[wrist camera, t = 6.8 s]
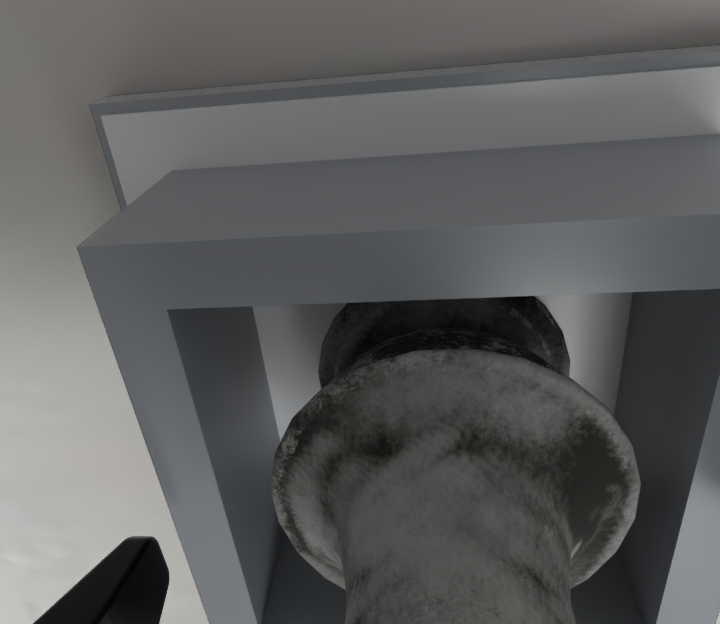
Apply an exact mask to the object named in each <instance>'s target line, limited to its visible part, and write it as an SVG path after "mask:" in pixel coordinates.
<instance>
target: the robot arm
mask: <svg viewBox="0 0 720 624" xmlns="http://www.w3.org/2000/svg"><path fill="white" fill-rule="evenodd" d="M168 585H169V570H168V567H167V564H166V562H165V559H164V556H163V554H162V551H161V549H160V546H159V543H158V541H157V540H156V539H155V538H154V537H151V536H132V537H129V538H127V539H125V540H124V541H123V542H122V543H121V544H119V545H118V546H117V547H116V548H115V549H114V550H113V551H112V552H111V553H110V554H109V555H107V556H106V557H105V558H104V559H103V560H102V561H101V562H100V563H99V564H98V565H97V566H95V567H94V568H93V569H92V570H91V571H90V572H89V573H88V574H87V575H86V576H85V577H83V578H82V579H81V580H80V581H79V582H78V583H77V584H76V585H75V586H74V587H72V588H71V589H70V590H69V591H68V592H67V593H66V594H65V595H64V596H63V597H62V598H60V599H59V600H58V601H57V602H56V603H55V604H54V605H53V606H52V607H51V608H50V609H48V610H47V611H46V612H45V613H44V614H43V615H42V616H41V617H40V618H39V619H38V620H36V621H35V622H34V623H33V624H159V622H160V618H161V614H162V610H163V606H164V602H165V598H166V594H167V590H168Z"/></svg>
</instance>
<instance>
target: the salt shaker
mask: <svg viewBox="0 0 720 624" xmlns="http://www.w3.org/2000/svg"><path fill="white" fill-rule="evenodd" d="M318 373H319V379H320V385H321V390H320V391H319V392H318V393H317V394H316V395H315V396H314V397H313V398H312V399H311V400H310V401H309V402H308V403H307V404H306V405H305V406H304V407H303V408H302V409H301V410H300V411H299V412H298V413H297V414H296V415H295V416H294V417H293V418H292V419H291V421H290V423H289V425H288V427H287V429H286V431H285V433H284V435H283V437H282V439H281V441H280V443H279V445H278V447H277V449H276V452H275V455H274V463H273V473H272V482H271V493H272V497H273V501H274V505H275V509H276V513H277V517H278V521H279V523H280V525H281V527H282V528H283V530H284V531H285V533H286V535H287V536H288V538H289V539H290V541H291V543H292V544H293V546H294V547H295V549H296V551H297V552H298V553H299V554H300V555H301V556H302V557H303V558H304V559H305V560H306V561H307V562H308V563H309V564H310V565H312V566H313V567H314V568H315V569H316V570H317V571H318V572H319V573H320V574H321V575H322V576H323V577H324V578H326V579H327V580H329V581H331V582H333V583H334V584H336V585H338V586H339V587H341V588H343V589H345V590H346V599H347V606H346V615H345V624H576V621H575V617H574V613H573V609H572V605H571V592H570V589H572V588H573V587H575V586H577V585H579V584H580V583H582V582H584V581H585V580H587V579H589V578H590V577H591V576H592V575H593V574H594V573H595V572H596V571H597V570H598V569H599V568H600V567H601V566H602V565H603V564H604V563H605V562H606V561H607V560H608V559H609V558H611V557H612V556H613V555H614V554H615V553H616V551H617V550H618V548H619V546H620V545H621V543H622V541H623V539H624V537H625V536H626V534H627V532H628V530H629V529H630V527H631V525H632V523H633V521H634V520H635V517H636V510H637V504H638V498H639V492H640V486H641V481H640V477H639V472H638V468H637V463H636V459H635V454H634V450H633V446H632V444H631V442H630V440H629V439H628V437H627V436H626V434H625V433H624V431H623V430H622V428H621V427H620V425H619V424H618V422H617V420H616V419H615V417H614V416H613V414H612V413H611V411H610V410H609V408H608V407H607V406H605V405H604V404H603V403H602V402H600V401H599V400H598V399H597V398H595V397H594V396H593V395H592V394H590V393H589V392H588V391H587V390H585V389H584V388H583V387H582V386H580V385H579V384H578V383H577V382H575V381H574V380H573V379H572V378H569V373H570V357H569V354H568V350H567V346H566V342H565V338H564V334H563V332H562V330H561V328H560V327H559V325H558V324H557V322H556V321H555V319H554V318H553V316H552V314H551V313H550V311H549V310H548V308H547V307H546V305H544V304H543V303H542V302H541V301H540V300H538V299H537V298H536V297H535V296H515V297H489V298H462V299H436V300H409V301H382V302H356V303H347V304H346V306H345V307H344V308H343V309H342V310H341V311H340V312H339V313H338V314H337V315H336V316H335V318H334V320H333V322H332V324H331V326H330V328H329V330H328V332H327V334H326V336H325V338H324V340H323V343H322V348H321V355H320V362H319V369H318Z"/></svg>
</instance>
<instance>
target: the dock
mask: <svg viewBox="0 0 720 624" xmlns="http://www.w3.org/2000/svg"><path fill="white" fill-rule="evenodd" d="M89 106H90V109H91V112H92V115H93V119H94V122H95V125H96V129H97V132H98V135H99V139H100V142H101V145H102V148H103V152H104V155H105V158H106V162H107V165H108V168H109V172H110V175H111V178H112V181H113V185H114V188H115V191H116V195H117V198H118V201H119V205H120V208H121V212H119V213H118V214H117V215H116V216H114V217H113V218H112V219H111V220H110V221H108V222H107V223H106V224H105V225H103V226H102V227H101V228H100V229H98V230H97V231H96V232H95V233H93V234H92V235H91V236H90V237H88V238H87V239H86V240H85V241H83V242H82V243H81V244H80V245H78V246H77V250H78V253H79V256H80V258H81V261H82V264H83V267H84V270H85V273H86V275H87V278H88V281H89V284H90V287H91V290H92V292H93V295H94V298H95V301H96V304H97V307H98V309H99V312H100V315H101V318H102V321H103V324H104V326H105V329H106V332H107V335H108V338H109V341H110V343H111V346H112V349H113V352H114V355H115V358H116V360H117V363H118V366H119V369H120V372H121V375H122V377H123V380H124V383H125V386H126V389H127V392H128V394H129V397H130V400H131V403H132V406H133V409H134V411H135V414H136V417H137V420H138V423H139V426H140V428H141V431H142V434H143V437H144V440H145V442H146V445H147V448H148V451H149V454H150V457H151V459H152V462H153V465H154V468H155V471H156V474H157V476H158V479H159V482H160V485H161V488H162V491H163V493H164V496H165V499H166V502H167V505H168V508H169V510H170V513H171V516H172V519H173V522H174V525H175V527H176V530H177V533H178V536H179V539H180V542H181V544H182V547H183V550H184V553H185V556H186V559H187V561H188V564H189V567H190V570H191V573H192V576H193V578H194V581H195V584H196V587H197V590H198V593H199V595H200V598H201V601H202V604H203V607H204V610H205V612H206V615H207V618H208V621H209V624H345V615H346V606H347V599H346V590H345V589H343V588H341V587H339V586H338V585H336V584H334V583H333V582H331V581H329V580H327V579H326V578H324V577H323V576H322V575H321V574H320V573H319V572H318V571H317V570H316V569H315V568H314V567H313V566H312V565H310V564H309V563H308V562H307V561H306V560H305V559H304V558H303V557H302V556H301V555H300V554H299V553H298V552H297V551H296V549H295V547H294V546H293V544H292V543H291V541H290V539H289V538H288V536H287V535H286V533H285V531H284V530H283V528H282V527H281V525H280V523H279V521H278V517H277V513H276V509H275V505H274V501H273V497H272V493H271V482H272V473H273V463H274V455H275V452H276V449H277V447H278V445H279V443H280V441H281V439H282V437H283V435H284V433H285V431H286V429H287V427H288V425H289V423H290V421H291V419H292V418H293V417H294V416H295V415H296V414H297V413H298V412H299V411H300V410H301V409H302V408H303V407H304V406H305V405H306V404H307V403H308V402H309V401H310V400H311V399H312V398H313V397H314V396H315V395H316V394H317V393H318V392H319V391H320V390H321V385H320V379H319V373H318V369H319V362H320V355H321V348H322V343H323V340H324V338H325V336H326V334H327V332H328V330H329V328H330V326H331V324H332V322H333V320H334V318H335V316H336V315H337V314H338V313H339V312H340V311H341V310H342V309H343V308H344V307H345V306H346V304H347V303H356V302H382V301H409V300H436V299H462V298H489V297H515V296H535V297H536V298H537V299H538V300H540V301H541V302H542V303H543V304H544V305H546V307H547V308H548V310H549V311H550V313H551V314H552V316H553V318H554V319H555V321H556V322H557V324H558V325H559V327H560V328H561V330H562V332H563V334H564V338H565V342H566V346H567V350H568V354H569V357H570V373H569V378H572V379H573V380H574V381H575V382H577V383H578V384H579V385H580V386H582V387H583V388H584V389H585V390H587V391H588V392H589V393H590V394H592V395H593V396H594V397H595V398H597V399H598V400H599V401H600V402H602V403H603V404H604V405H605V406H607V407H608V408H609V410H610V411H611V413H612V414H613V416H614V417H615V419H616V420H617V422H618V424H619V425H620V427H621V428H622V430H623V431H624V433H625V434H626V436H627V437H628V439H629V440H630V442H631V444H632V446H633V450H634V454H635V459H636V463H637V468H638V472H639V477H640V481H641V486H640V492H639V498H638V504H637V510H636V517H635V520H634V521H633V523H632V525H631V527H630V529H629V530H628V532H627V534H626V536H625V537H624V539H623V541H622V543H621V545H620V546H619V548H618V550H617V551H616V553H615V554H614V555H613V556H612V557H611V558H609V559H608V560H607V561H606V562H605V563H604V564H603V565H602V566H601V567H600V568H599V569H598V570H597V571H596V572H595V573H594V574H593V575H592V576H591V577H590V578H589V579H587V580H585V581H584V582H582V583H580V584H579V585H577V586H575V587H573V588H572V589H570V592H571V605H572V609H573V613H574V617H575V621H576V624H715V623H716V620H717V617H718V614H719V611H720V45H712V46H700V47H688V48H676V49H664V50H652V51H640V52H628V53H616V54H605V55H593V56H581V57H569V58H557V59H545V60H533V61H521V62H509V63H497V64H486V65H474V66H462V67H450V68H438V69H426V70H414V71H402V72H390V73H378V74H367V75H355V76H343V77H331V78H319V79H307V80H295V81H283V82H271V83H259V84H248V85H236V86H224V87H212V88H200V89H188V90H176V91H164V92H152V93H140V94H129V95H117V96H108V97H106V98H104V99H101V100H99V101H96V102H94V103H91V104H89Z"/></svg>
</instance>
